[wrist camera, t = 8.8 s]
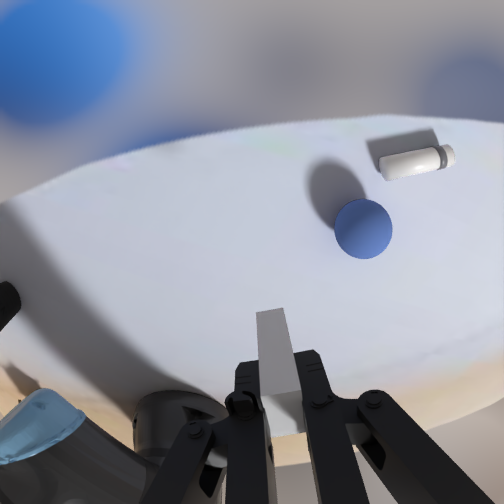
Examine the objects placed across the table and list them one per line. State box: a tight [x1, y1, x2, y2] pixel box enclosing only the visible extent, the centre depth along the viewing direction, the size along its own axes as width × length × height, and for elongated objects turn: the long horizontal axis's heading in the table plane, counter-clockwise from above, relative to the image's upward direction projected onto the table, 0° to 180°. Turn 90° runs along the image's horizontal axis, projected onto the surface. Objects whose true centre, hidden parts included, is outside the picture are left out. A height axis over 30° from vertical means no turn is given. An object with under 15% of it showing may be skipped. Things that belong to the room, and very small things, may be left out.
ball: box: [334, 199, 392, 259], centre depth 26 cm, size 6×6×6 cm
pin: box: [379, 144, 455, 181], centre depth 26 cm, size 2×2×8 cm
